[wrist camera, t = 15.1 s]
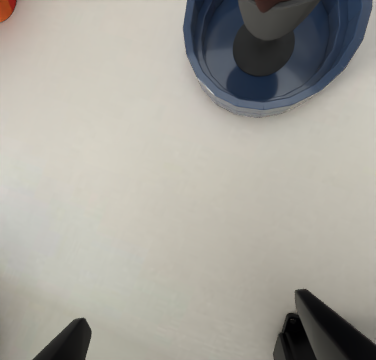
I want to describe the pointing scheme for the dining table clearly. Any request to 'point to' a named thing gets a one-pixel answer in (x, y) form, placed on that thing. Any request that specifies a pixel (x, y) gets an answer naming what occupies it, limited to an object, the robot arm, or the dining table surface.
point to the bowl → (290, 73)
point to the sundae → (268, 33)
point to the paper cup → (6, 8)
